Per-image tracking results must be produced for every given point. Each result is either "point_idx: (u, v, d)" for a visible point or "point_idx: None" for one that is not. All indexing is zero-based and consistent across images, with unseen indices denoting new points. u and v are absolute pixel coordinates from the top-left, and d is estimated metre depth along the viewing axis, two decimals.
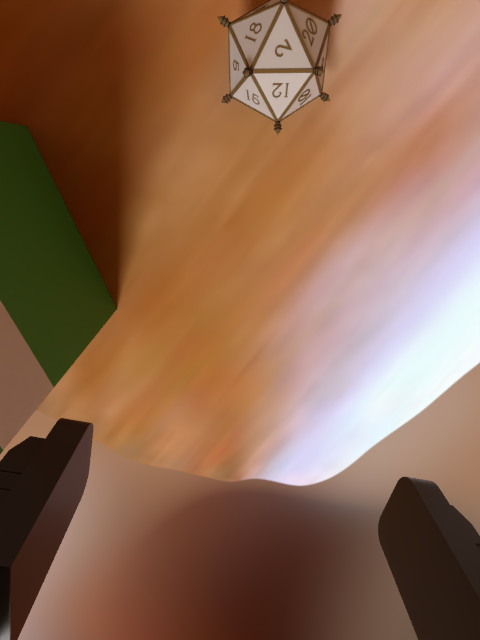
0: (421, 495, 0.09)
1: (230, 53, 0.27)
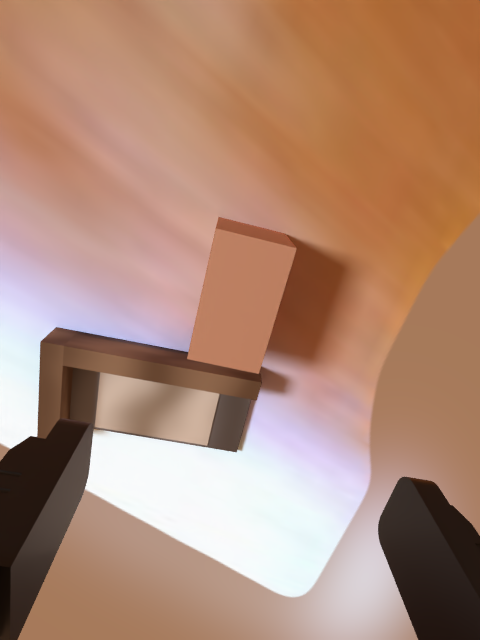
0: (421, 495, 0.09)
1: None
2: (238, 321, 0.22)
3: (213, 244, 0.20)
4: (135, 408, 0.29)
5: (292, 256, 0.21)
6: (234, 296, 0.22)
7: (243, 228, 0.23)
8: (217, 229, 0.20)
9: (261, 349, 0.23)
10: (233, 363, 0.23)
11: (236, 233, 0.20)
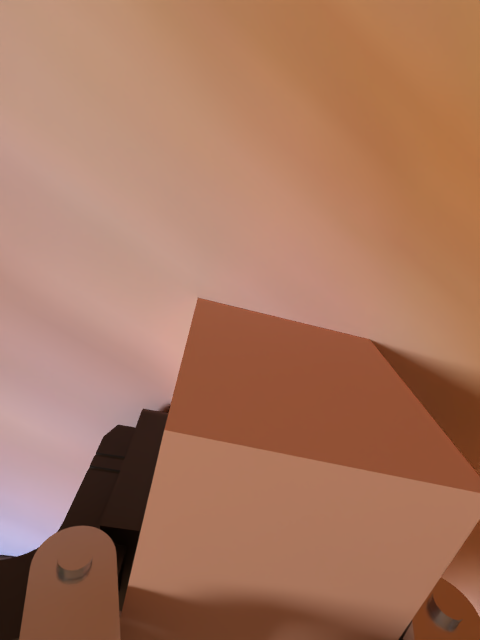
0: None
1: None
2: None
3: (156, 484, 0.05)
4: None
5: (471, 519, 0.05)
6: (240, 627, 0.06)
7: (270, 361, 0.07)
8: (172, 432, 0.05)
9: None
10: None
11: (253, 443, 0.05)
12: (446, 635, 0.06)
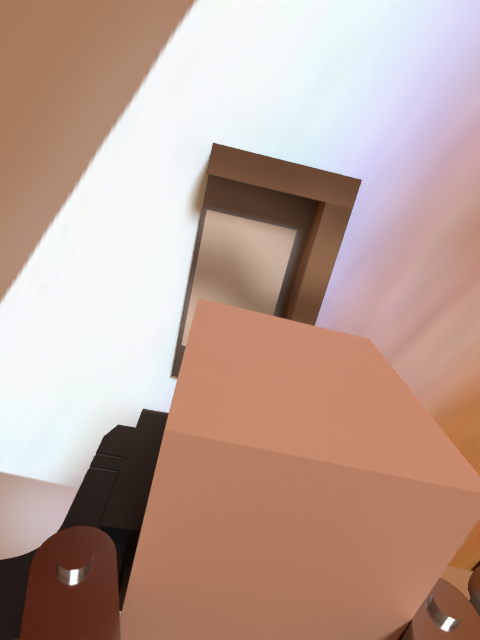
0: None
1: None
2: None
3: (157, 483, 0.05)
4: (235, 266, 0.24)
5: (470, 519, 0.05)
6: (239, 625, 0.06)
7: (270, 361, 0.07)
8: (172, 432, 0.05)
9: None
10: None
11: (253, 442, 0.05)
12: (446, 635, 0.06)
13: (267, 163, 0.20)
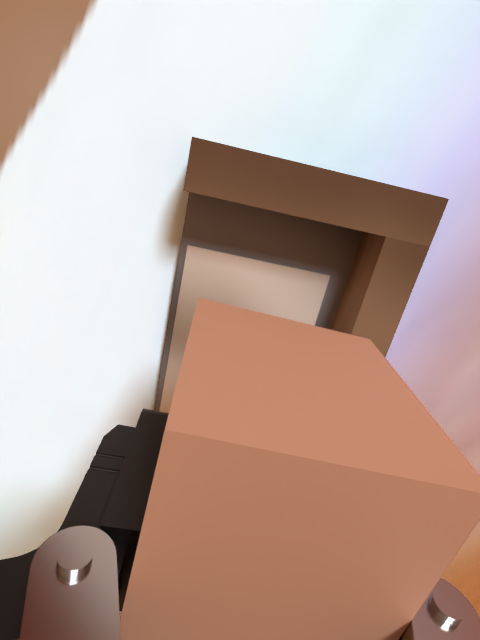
0: None
1: None
2: None
3: (157, 483, 0.05)
4: None
5: (471, 519, 0.05)
6: (240, 626, 0.06)
7: (270, 361, 0.07)
8: (172, 432, 0.05)
9: None
10: None
11: (254, 442, 0.05)
12: (446, 635, 0.06)
13: (287, 172, 0.11)
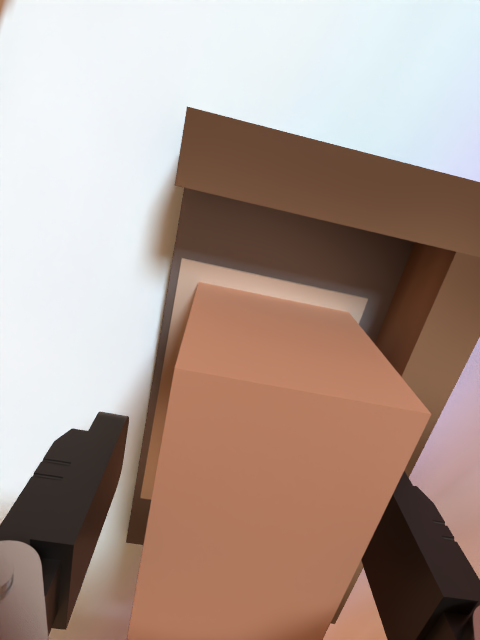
0: None
1: None
2: (253, 584, 0.08)
3: (170, 412, 0.07)
4: None
5: (415, 434, 0.07)
6: (240, 533, 0.08)
7: (259, 326, 0.09)
8: (180, 370, 0.06)
9: (313, 634, 0.09)
10: None
11: (242, 377, 0.06)
12: None
13: (323, 160, 0.08)
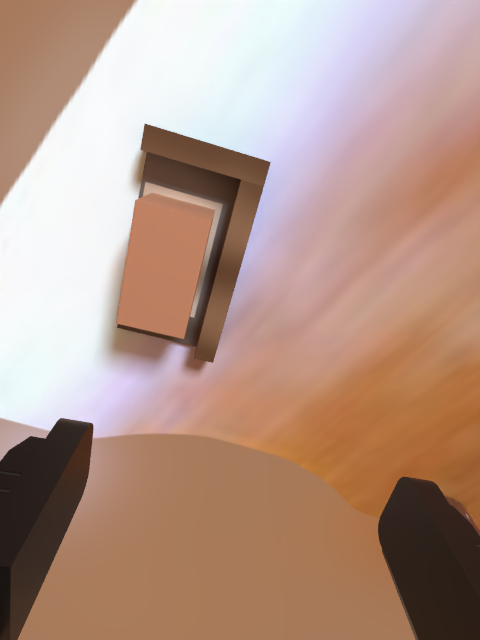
0: (421, 495, 0.09)
1: None
2: (161, 288, 0.24)
3: (134, 215, 0.22)
4: None
5: (208, 228, 0.23)
6: (156, 264, 0.23)
7: (169, 202, 0.24)
8: (137, 201, 0.22)
9: (185, 315, 0.25)
10: (159, 328, 0.25)
11: (155, 205, 0.22)
12: None
13: (191, 143, 0.24)
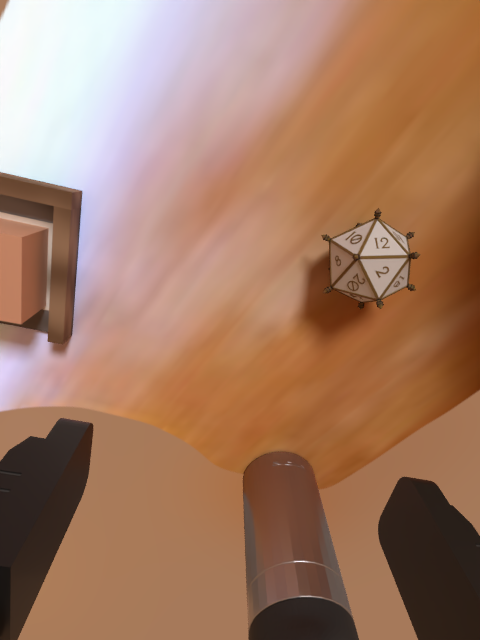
0: (421, 495, 0.09)
1: None
2: None
3: None
4: None
5: (20, 242, 0.32)
6: None
7: (1, 225, 0.33)
8: None
9: (18, 306, 0.34)
10: (1, 317, 0.34)
11: None
12: None
13: (12, 182, 0.33)
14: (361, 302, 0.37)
